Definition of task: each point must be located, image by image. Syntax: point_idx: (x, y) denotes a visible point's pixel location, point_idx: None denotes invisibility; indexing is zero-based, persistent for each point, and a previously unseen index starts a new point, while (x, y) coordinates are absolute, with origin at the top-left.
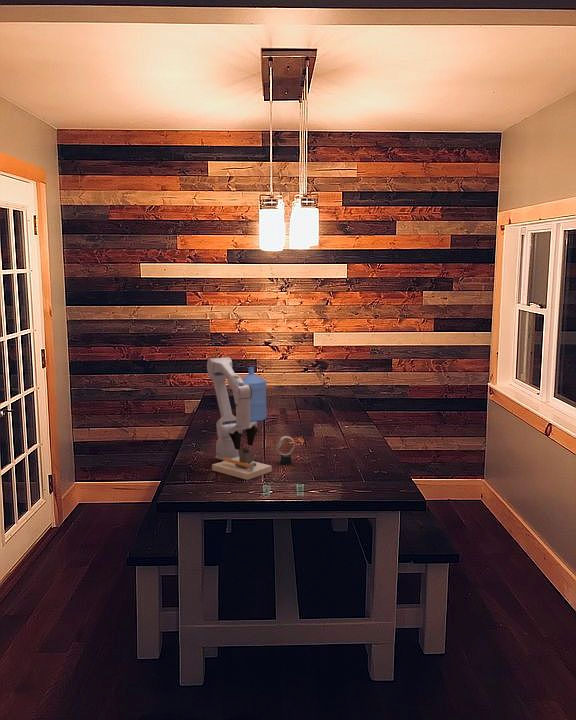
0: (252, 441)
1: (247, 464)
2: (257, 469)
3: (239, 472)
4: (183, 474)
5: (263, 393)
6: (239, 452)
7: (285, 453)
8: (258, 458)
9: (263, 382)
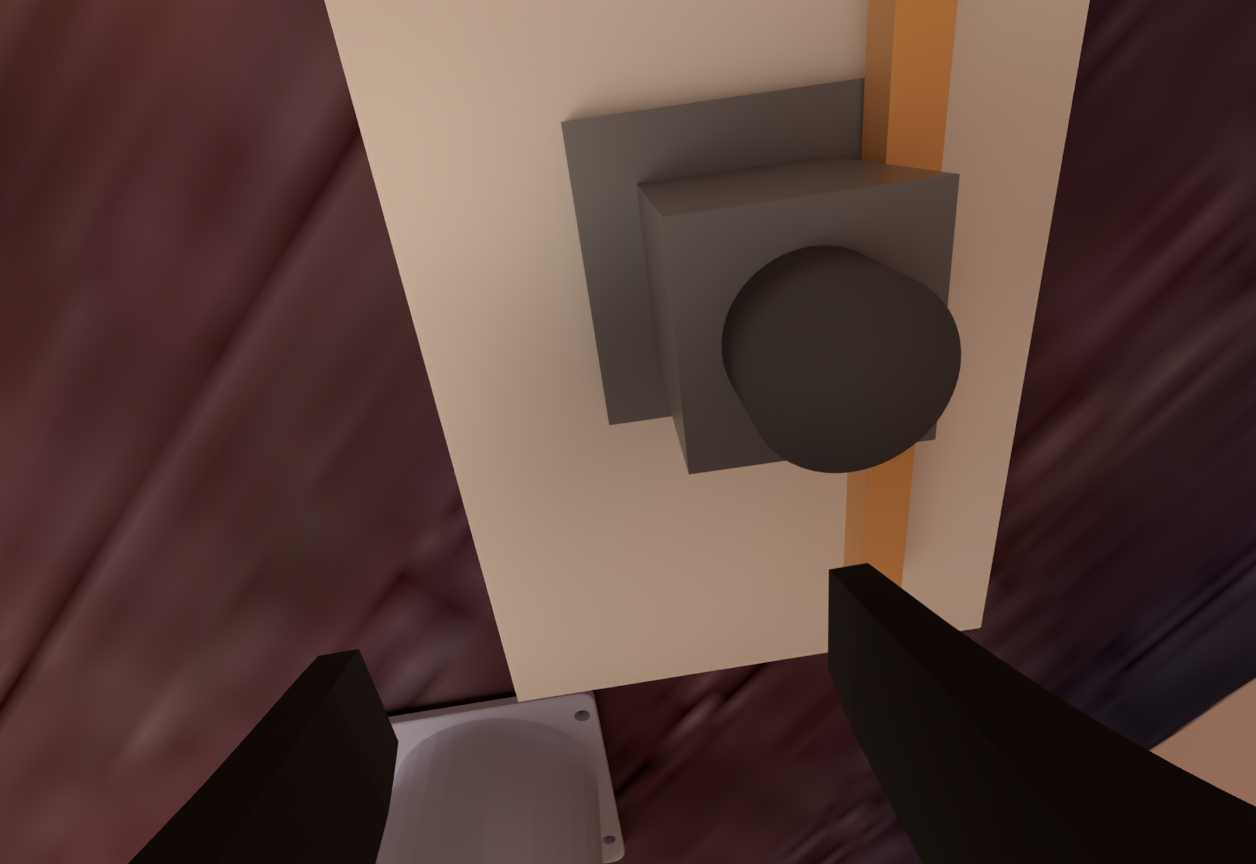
0: (284, 739)
1: None
2: None
3: (1084, 8)
4: (1211, 635)
5: None
6: (930, 434)
7: None
8: (171, 620)
9: None
